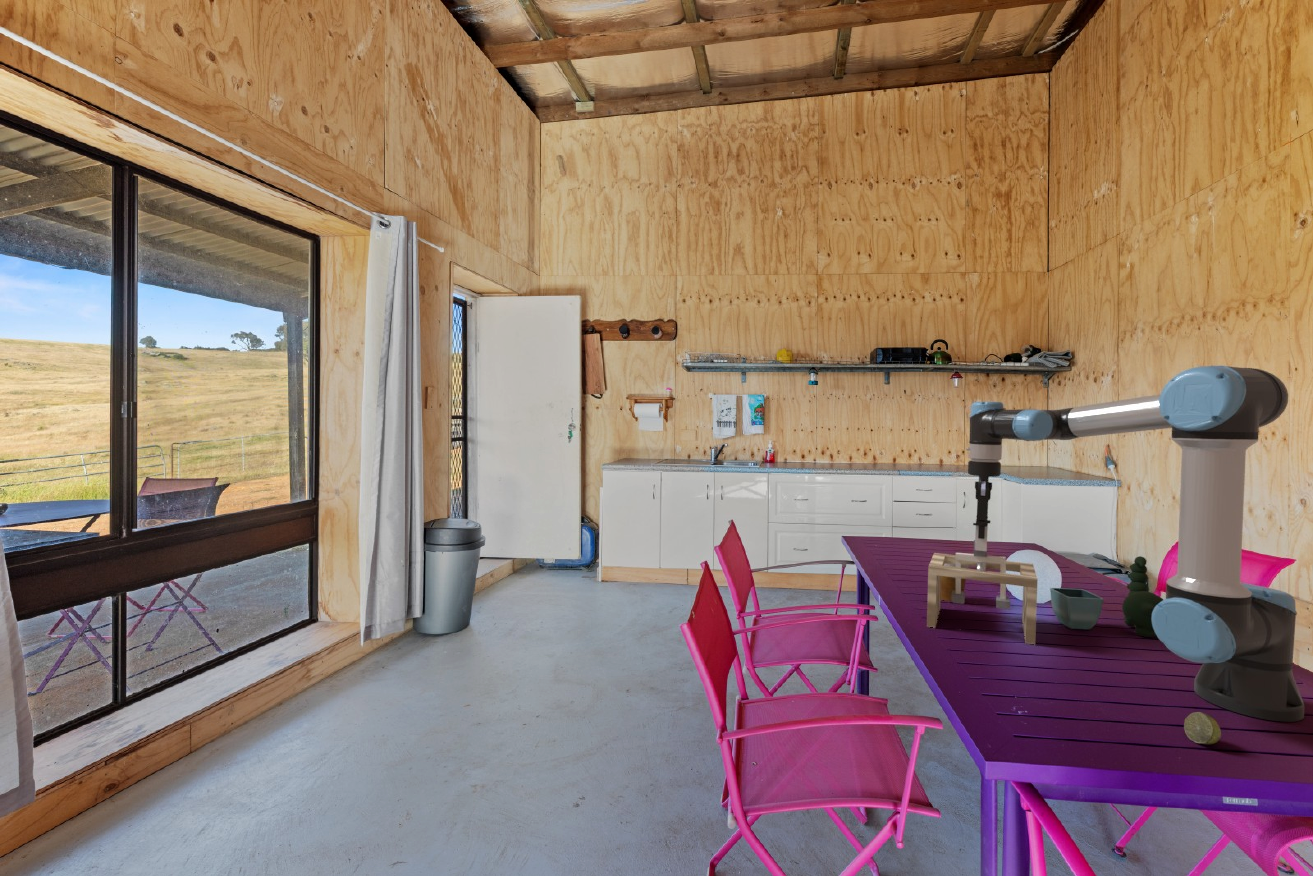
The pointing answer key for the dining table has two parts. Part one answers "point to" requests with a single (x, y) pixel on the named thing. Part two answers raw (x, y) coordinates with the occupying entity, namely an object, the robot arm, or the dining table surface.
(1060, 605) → the flower pot
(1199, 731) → the lime
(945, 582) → the disposable coffee cup
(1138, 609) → the dark green tiered figure
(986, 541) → the robot arm
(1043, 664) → the dining table surface
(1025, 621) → the beige wooden frame
